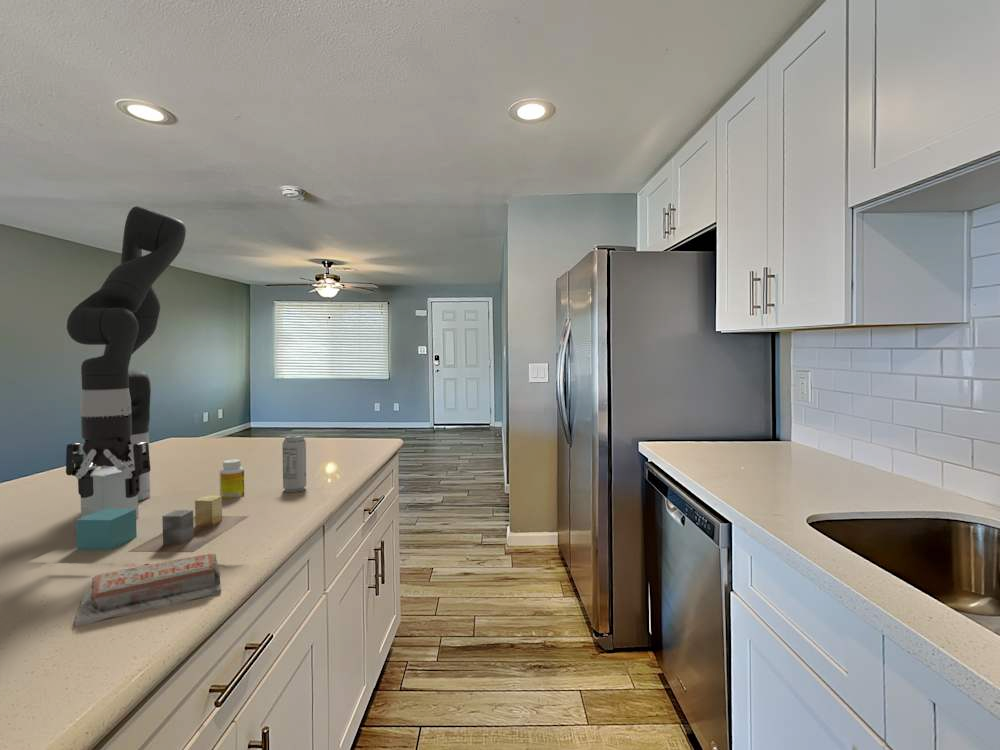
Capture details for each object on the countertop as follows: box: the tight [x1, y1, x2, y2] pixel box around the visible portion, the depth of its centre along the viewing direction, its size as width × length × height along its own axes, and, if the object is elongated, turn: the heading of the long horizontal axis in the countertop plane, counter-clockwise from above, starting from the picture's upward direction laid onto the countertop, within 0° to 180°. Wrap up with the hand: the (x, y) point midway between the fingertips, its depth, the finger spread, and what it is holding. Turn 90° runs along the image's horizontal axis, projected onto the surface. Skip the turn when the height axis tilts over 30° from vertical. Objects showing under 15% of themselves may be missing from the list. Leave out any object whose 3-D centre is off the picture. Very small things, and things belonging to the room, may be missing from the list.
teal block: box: [75, 509, 138, 551], centre depth 95 cm, size 6×6×7 cm
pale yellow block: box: [194, 495, 223, 527], centre depth 106 cm, size 4×4×6 cm
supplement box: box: [80, 466, 139, 520], centre depth 107 cm, size 7×7×13 cm
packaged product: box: [74, 553, 222, 627], centre depth 78 cm, size 18×5×10 cm
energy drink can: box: [282, 434, 307, 493], centre depth 138 cm, size 6×6×15 cm
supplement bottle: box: [219, 458, 245, 499], centre depth 128 cm, size 6×6×10 cm
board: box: [129, 509, 249, 553], centre depth 101 cm, size 12×20×7 cm, turn 0°
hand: (109, 496), depth 95 cm, fingers open, 8 cm apart
